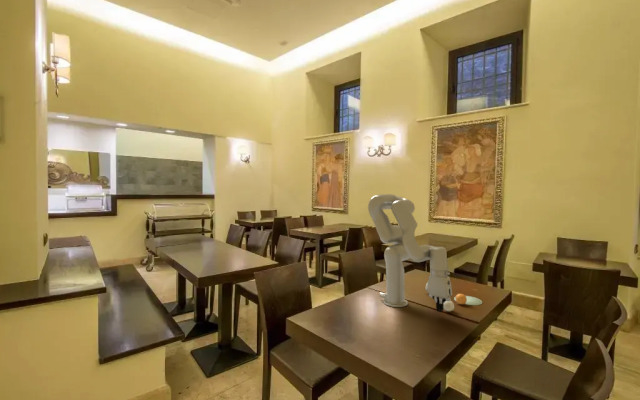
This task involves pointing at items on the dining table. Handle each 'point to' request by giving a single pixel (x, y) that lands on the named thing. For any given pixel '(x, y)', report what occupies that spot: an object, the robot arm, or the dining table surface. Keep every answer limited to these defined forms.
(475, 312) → the dining table surface
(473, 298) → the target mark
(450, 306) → the cue ball
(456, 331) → the dining table surface
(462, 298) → the object ball
